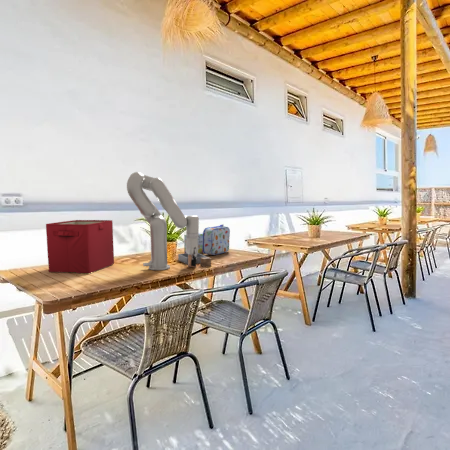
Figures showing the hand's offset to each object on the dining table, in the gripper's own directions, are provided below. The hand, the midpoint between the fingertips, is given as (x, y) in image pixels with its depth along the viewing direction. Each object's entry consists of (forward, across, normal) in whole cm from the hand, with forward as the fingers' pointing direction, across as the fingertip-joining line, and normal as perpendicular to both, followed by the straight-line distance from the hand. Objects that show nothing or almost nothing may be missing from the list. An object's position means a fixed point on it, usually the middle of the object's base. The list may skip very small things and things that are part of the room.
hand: (192, 264), depth 206 cm
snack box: (+1, -47, +21) cm, 51 cm away
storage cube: (+3, -27, -61) cm, 66 cm away
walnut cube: (+1, +1, +9) cm, 9 cm away
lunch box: (+1, -37, +34) cm, 50 cm away
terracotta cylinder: (+1, 0, 0) cm, 1 cm away
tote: (+1, -17, +6) cm, 18 cm away
